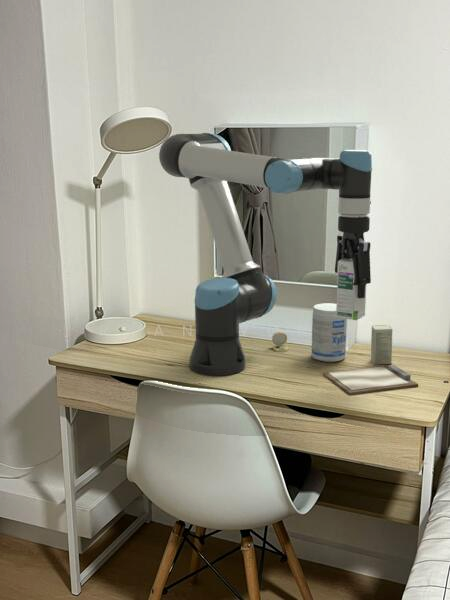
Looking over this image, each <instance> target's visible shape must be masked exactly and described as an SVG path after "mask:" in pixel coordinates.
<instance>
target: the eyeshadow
mask: <svg viewBox="0 0 450 600" xmlns="http://www.w3.org/2000/svg"><path fill="white" fill-rule="evenodd" d="M271 337H272V338H271V339H272V343H273V344H274V345H275V346H274V345H273V351H274V352H277V353H285V352H288V351H289V347H288V346H287V345H285V344H286V343H287V341H288V337H287V334H286V332H283V331H276V332H274V334H273V335H272V336H271Z"/></svg>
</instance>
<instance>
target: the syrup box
mask: <svg viewBox="0 0 450 600" xmlns="http://www.w3.org/2000/svg"><path fill="white" fill-rule="evenodd" d="M336 274H337V278H336V280H337V281H336V284H337V285H336V304H337V307H336V318H344V319H347V320H350V321H351V320H352V321H358V320H359V319H362V318H363V317H365V316H366V308H365V309H364V310H362V311H353V294H354V285H353V283H355V282H356V281H355V274H354V267H353V260H352V259H346V258H344V259H341V260H339V261H338V269H337V273H336ZM366 301H367V284H366V285H365V305H366V304H367V303H366Z"/></svg>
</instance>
